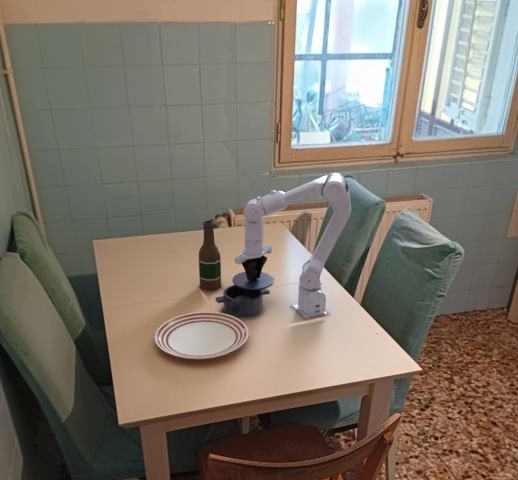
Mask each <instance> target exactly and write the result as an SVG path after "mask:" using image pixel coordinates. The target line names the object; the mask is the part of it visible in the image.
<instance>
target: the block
mask: <svg viewBox="0 0 518 480" xmlns="http://www.w3.org/2000/svg"><path fill="white" fill-rule="evenodd" d="M235 299H237V300H250V299H252V298H251V297H249V296H246V295H244V294H242V295H240V296H237V297H235Z"/></svg>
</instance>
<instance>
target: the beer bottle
mask: <svg viewBox="0 0 518 480" xmlns="http://www.w3.org/2000/svg"><path fill="white" fill-rule="evenodd" d="M214 226H215V224H214V221H213V220H204V221H203V223H202V227H203V242H202V245H201V247H200V248H199V251H198V269H199V270H198V272H199V287H200V290H203V291H205V292H206V291H207V292H213V291H217V290H220V289H221V288H222V266H221V265H222V263H221V261H222V259H221V253H220V250H219V248H218V246H217V245H216V242H215V241H216V240H215V231H214Z"/></svg>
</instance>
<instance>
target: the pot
mask: <svg viewBox="0 0 518 480" xmlns="http://www.w3.org/2000/svg"><path fill="white" fill-rule="evenodd" d="M242 294H244V295H246V296H249V297H251V298H252V299H250V300H237V299H235V297H237V296H240V295H242ZM270 294H271V290H269V289H268V288H265V289H260V290H247V289H242V288H239V287H237V286H236V285H234V284H231V285H229V286H227V287H226V288H225V289H223V292H222V295H221V296H217V297H215V301H216V303H217V304H222V303H223V312H224V314H228V315H231V316H234V317H236V318H238V319H248V318H253V317H256V316H258V315H260V314H261V313H262V312H263V307H264V306H263V303H264V302H263V299H264V298H263V297H264V296H265V295H270Z"/></svg>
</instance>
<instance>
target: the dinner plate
mask: <svg viewBox="0 0 518 480" xmlns="http://www.w3.org/2000/svg"><path fill="white" fill-rule="evenodd" d="M249 335H250V334H249V328H248V326H247V325H246V323H245V322H243V321H242V320H241V319H240V318H237V317H234V316H231V315H228V314H226V313H225V312H217V311H197V312H196V311H195V312H189V313H184V314H181V315H180V314H179V315H177V316H175V317H172V318H170V319H168V320H166V321H164V322H163V323H162V324H161V325H160V326H159V327H158V328H157V329H156V331H155V333H154V342H155V344H156V346H157V347H158V348H159V349H160V350H161V351H163V352H164V353H166V354H168V355H171V356H173V357H177V358H182V359H187V360H209V359H216V358H219V357H223V356H226V355H228V354H231V353H233V352H234V351H237V350H238V349H239V348H241V347H242V346H243V345H244V344H246V342H247V340H248V338H249Z"/></svg>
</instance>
